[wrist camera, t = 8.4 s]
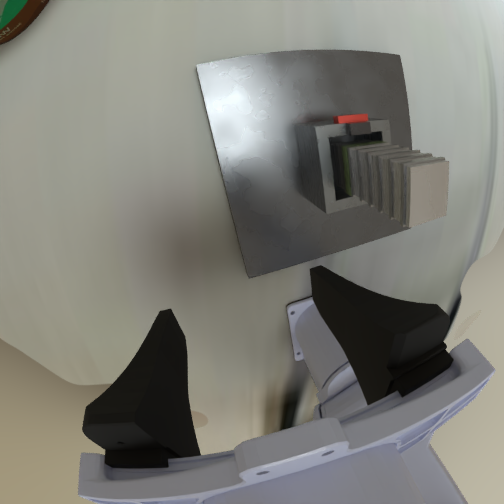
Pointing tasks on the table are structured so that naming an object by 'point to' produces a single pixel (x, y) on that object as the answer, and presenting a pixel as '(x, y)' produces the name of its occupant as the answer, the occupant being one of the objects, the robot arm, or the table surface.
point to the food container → (18, 16)
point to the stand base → (300, 147)
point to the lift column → (393, 179)
